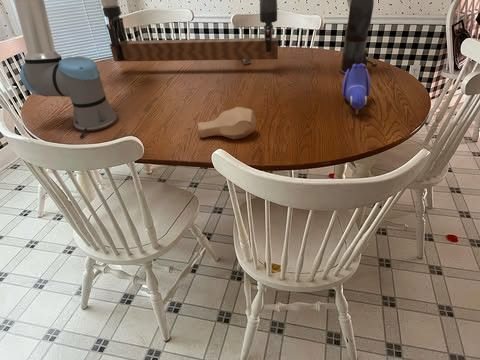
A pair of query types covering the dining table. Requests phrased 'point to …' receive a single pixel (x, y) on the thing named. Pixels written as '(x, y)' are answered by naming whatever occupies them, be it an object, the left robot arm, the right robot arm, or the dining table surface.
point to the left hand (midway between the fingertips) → (123, 58)
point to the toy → (356, 86)
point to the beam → (197, 49)
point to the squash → (230, 124)
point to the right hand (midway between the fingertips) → (268, 49)
